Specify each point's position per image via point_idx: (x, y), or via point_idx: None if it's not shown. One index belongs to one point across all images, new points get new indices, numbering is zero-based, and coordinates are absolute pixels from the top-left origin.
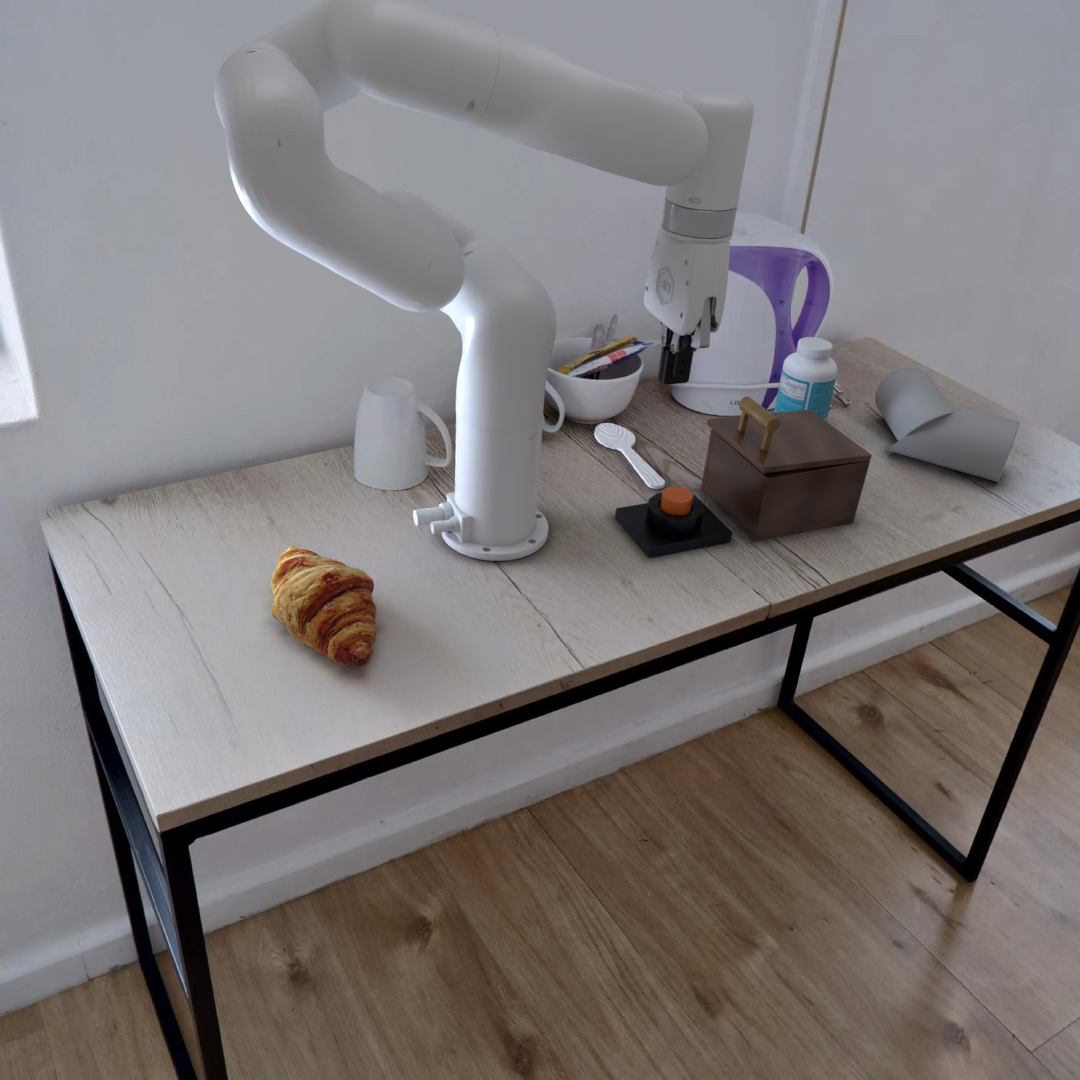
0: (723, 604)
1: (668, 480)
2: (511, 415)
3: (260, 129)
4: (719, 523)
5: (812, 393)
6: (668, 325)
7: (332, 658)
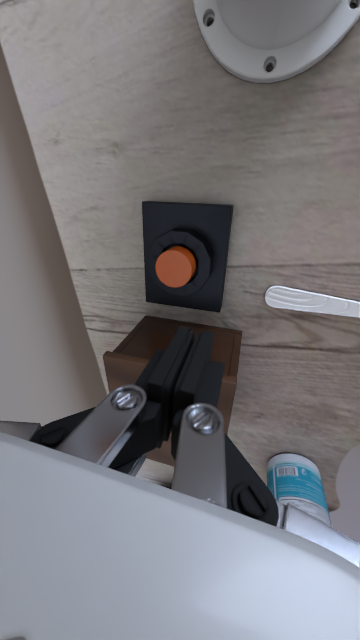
0: (70, 231)
1: (278, 315)
2: None
3: None
4: (162, 300)
5: None
6: (7, 453)
7: None
